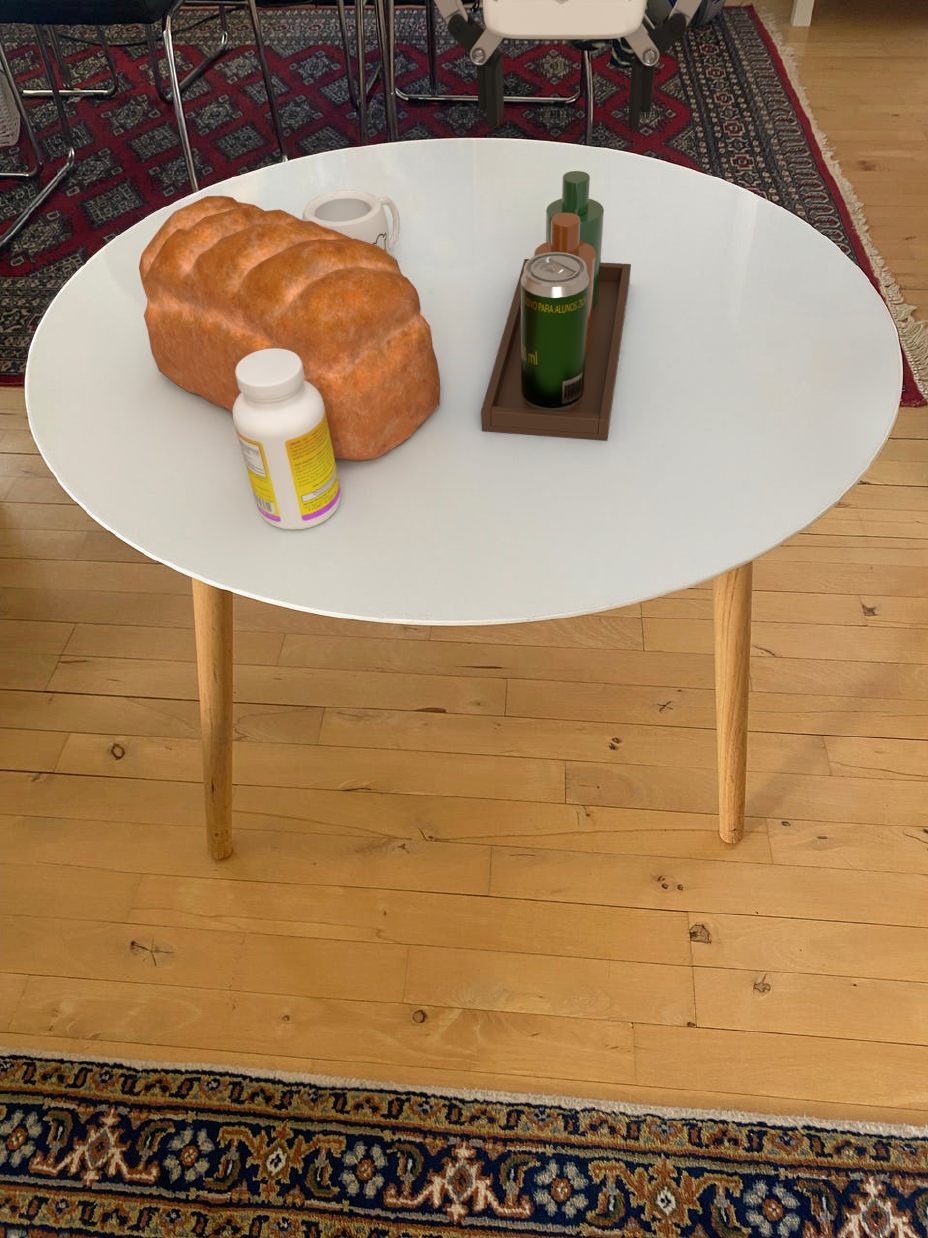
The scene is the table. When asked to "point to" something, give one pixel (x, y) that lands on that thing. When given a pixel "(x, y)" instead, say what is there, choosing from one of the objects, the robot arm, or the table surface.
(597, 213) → the green bottle
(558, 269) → the beer can
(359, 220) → the mug
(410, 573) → the table surface
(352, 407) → the bread
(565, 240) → the amber bottle
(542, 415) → the tray
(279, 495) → the supplement bottle
